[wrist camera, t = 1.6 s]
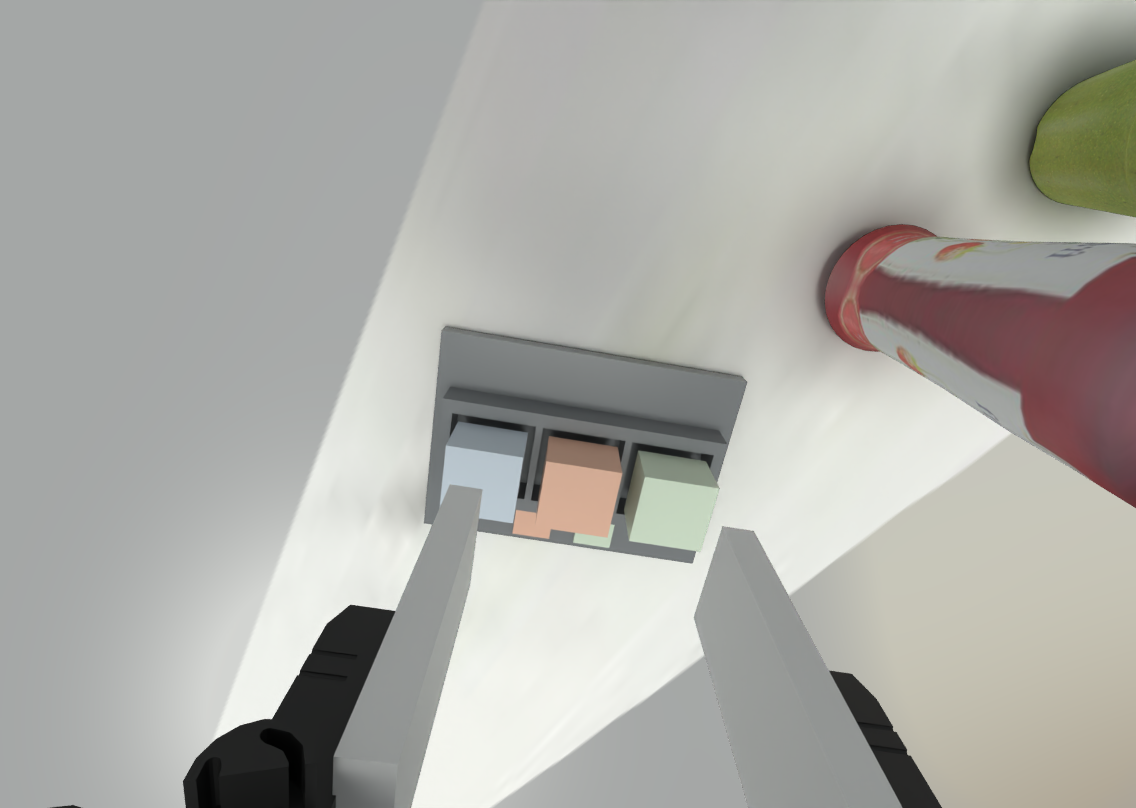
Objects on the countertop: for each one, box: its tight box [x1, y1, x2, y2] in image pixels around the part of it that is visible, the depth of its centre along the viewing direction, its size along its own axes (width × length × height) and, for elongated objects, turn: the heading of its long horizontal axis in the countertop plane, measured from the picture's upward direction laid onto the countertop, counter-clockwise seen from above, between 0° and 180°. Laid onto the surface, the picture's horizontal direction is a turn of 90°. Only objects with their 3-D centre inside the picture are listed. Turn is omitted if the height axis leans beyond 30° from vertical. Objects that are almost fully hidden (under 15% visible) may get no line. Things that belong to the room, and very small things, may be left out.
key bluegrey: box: [440, 421, 528, 523], centre depth 30 cm, size 4×4×3 cm
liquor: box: [825, 224, 1136, 508], centre depth 18 cm, size 7×7×28 cm
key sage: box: [624, 450, 720, 552], centre depth 31 cm, size 4×4×3 cm
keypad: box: [424, 327, 747, 563], centre depth 34 cm, size 13×18×3 cm
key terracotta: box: [535, 436, 622, 538], centre depth 31 cm, size 4×4×3 cm
